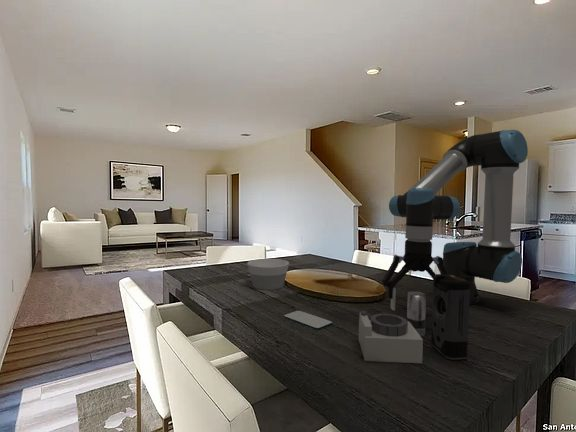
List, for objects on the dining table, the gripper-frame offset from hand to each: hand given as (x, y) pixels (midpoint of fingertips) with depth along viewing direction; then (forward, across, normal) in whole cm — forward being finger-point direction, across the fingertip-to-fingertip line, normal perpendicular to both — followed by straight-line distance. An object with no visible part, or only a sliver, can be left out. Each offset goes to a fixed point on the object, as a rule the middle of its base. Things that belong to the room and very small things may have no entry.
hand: (415, 310), depth 100 cm
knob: (+7, 0, 0) cm, 7 cm away
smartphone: (+8, +33, -7) cm, 34 cm away
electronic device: (+7, -5, +12) cm, 15 cm away
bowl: (+8, +52, -48) cm, 71 cm away
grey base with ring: (+7, +11, +13) cm, 18 cm away
